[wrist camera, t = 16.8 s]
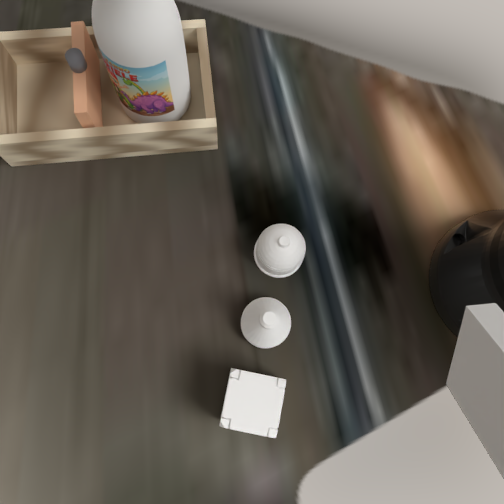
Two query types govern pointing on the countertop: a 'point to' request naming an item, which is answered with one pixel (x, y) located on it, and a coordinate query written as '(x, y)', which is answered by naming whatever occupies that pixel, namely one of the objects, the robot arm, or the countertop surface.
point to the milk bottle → (144, 57)
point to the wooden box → (113, 115)
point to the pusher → (85, 77)
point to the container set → (264, 338)
